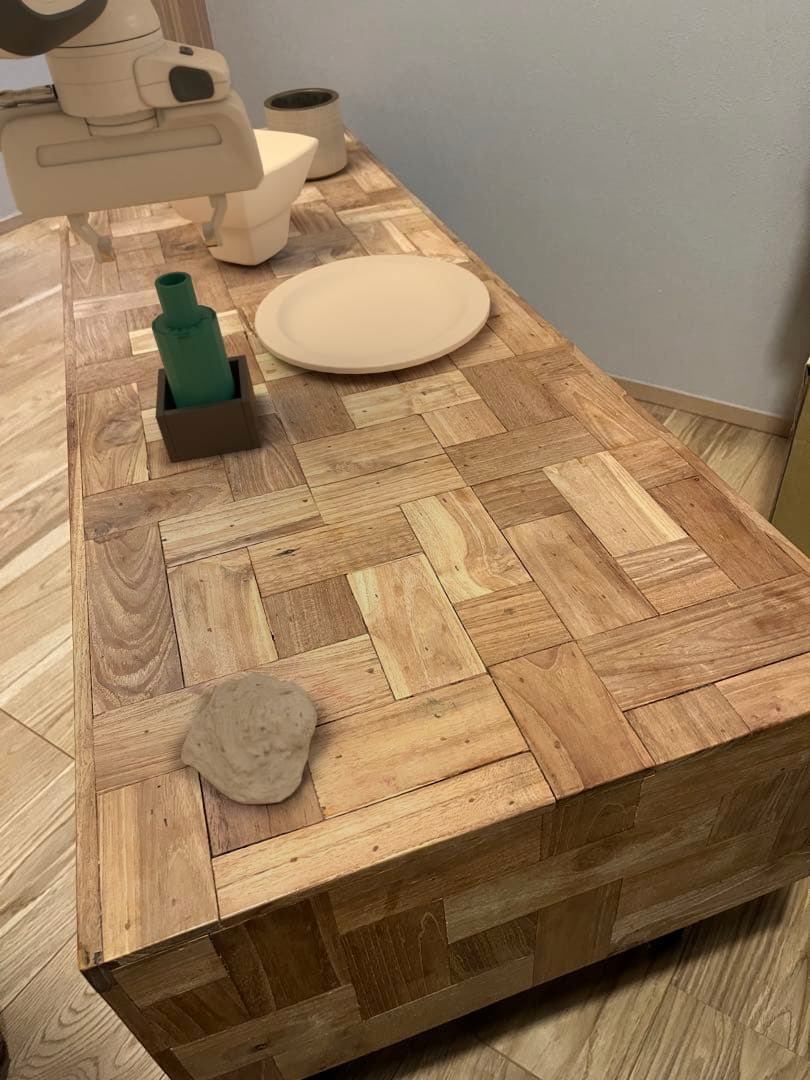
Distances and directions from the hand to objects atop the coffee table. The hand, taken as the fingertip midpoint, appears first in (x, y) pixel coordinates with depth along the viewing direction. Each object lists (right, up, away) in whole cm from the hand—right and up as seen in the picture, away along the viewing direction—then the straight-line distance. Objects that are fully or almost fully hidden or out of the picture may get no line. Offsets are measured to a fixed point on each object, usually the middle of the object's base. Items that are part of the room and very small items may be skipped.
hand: (161, 252), depth 72 cm
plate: (+18, +1, +27) cm, 32 cm away
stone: (+11, -40, -16) cm, 44 cm away
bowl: (0, +15, +44) cm, 47 cm away
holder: (+2, -14, +13) cm, 19 cm away
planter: (+5, +38, +69) cm, 79 cm away
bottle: (+2, -14, +12) cm, 19 cm away
